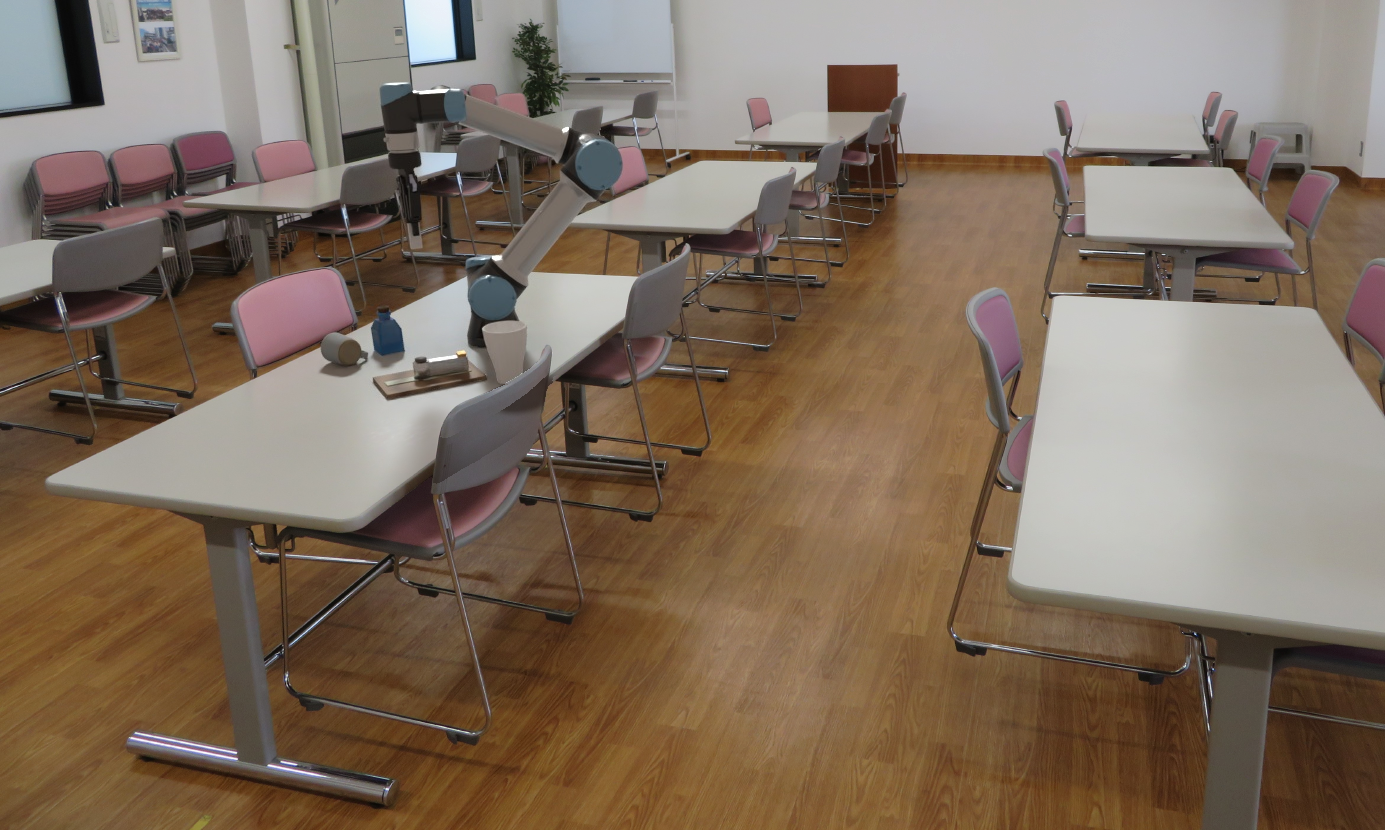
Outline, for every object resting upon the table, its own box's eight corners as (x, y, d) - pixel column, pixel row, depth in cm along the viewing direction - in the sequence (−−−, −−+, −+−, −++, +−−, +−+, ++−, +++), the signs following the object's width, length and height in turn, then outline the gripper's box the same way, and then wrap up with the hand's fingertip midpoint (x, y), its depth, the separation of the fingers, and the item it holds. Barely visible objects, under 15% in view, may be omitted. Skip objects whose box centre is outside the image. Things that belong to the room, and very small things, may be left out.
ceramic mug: (341, 370, 269) (337, 341, 266) (322, 364, 273) (317, 336, 271) (376, 359, 276) (372, 331, 274) (356, 354, 281) (352, 326, 278)
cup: (504, 371, 263) (499, 318, 258) (540, 376, 258) (535, 322, 253) (479, 384, 254) (473, 330, 249) (515, 390, 250) (509, 335, 245)
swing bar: (415, 379, 255) (413, 362, 253) (413, 374, 258) (410, 357, 257) (469, 370, 259) (467, 354, 258) (466, 366, 263) (464, 349, 261)
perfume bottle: (404, 351, 282) (398, 307, 277) (382, 355, 279) (375, 311, 274) (396, 345, 287) (390, 302, 282) (374, 350, 283) (367, 306, 279)
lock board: (468, 363, 270) (465, 341, 268) (486, 379, 257) (484, 356, 255) (373, 381, 259) (369, 358, 257) (387, 398, 247) (384, 375, 245)
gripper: (381, 149, 257) (394, 245, 265) (394, 155, 246) (408, 255, 255) (412, 146, 260) (424, 241, 269) (426, 151, 249) (438, 250, 258)
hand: (416, 248), depth 262 cm, fingers closed
